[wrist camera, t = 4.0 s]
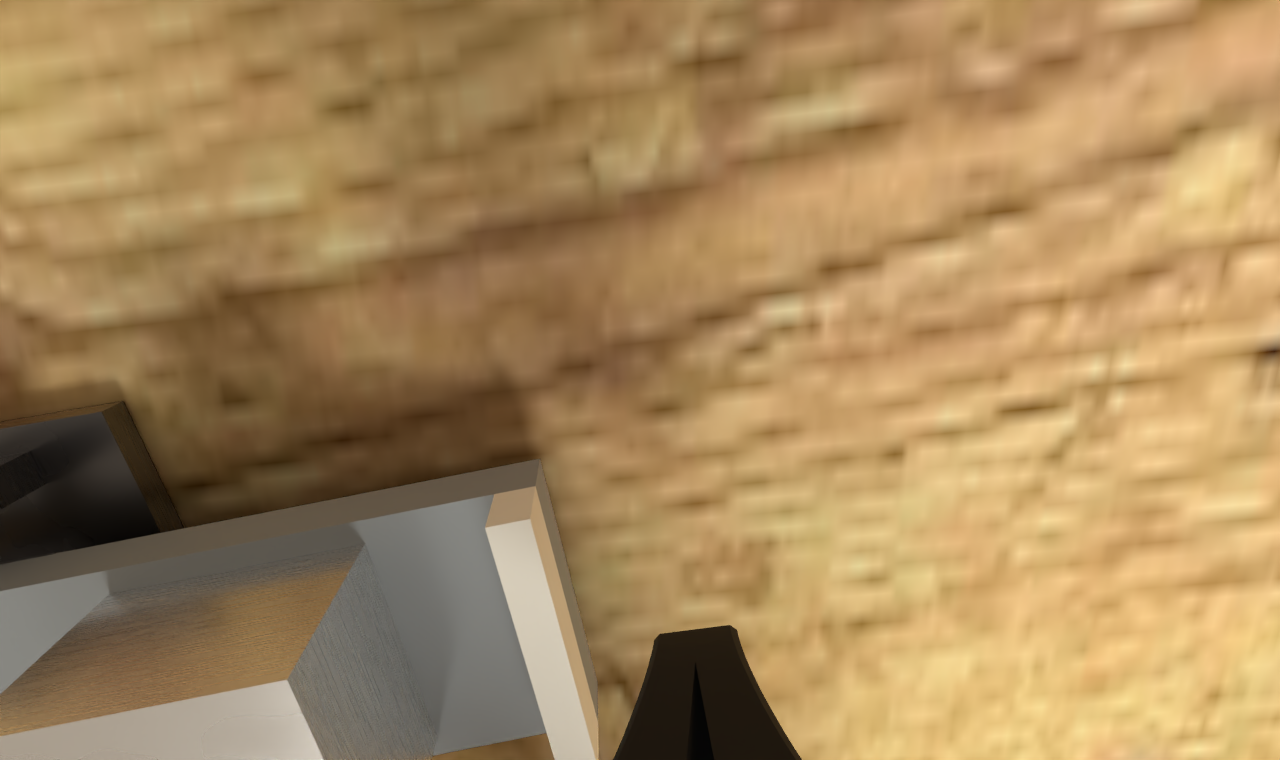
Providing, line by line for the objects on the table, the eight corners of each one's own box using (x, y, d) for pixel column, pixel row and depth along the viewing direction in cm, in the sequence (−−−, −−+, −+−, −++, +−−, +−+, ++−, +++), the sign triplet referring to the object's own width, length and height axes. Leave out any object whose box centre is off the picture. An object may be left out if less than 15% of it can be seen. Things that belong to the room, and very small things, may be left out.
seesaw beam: (532, 414, 14) (518, 478, 11) (603, 691, 17) (606, 798, 14) (-599, 635, 14) (-893, 755, 11) (-352, 881, 16) (-542, 1028, 14)
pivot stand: (123, 401, 14) (-12, 467, 12) (299, 768, 18) (230, 889, 15) (-121, 442, 15) (-308, 516, 12) (98, 791, 19) (-5, 912, 16)
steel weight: (364, 543, 13) (286, 679, 9) (437, 736, 14) (392, 910, 11) (109, 593, 13) (-59, 748, 9) (211, 781, 14) (99, 968, 11)
